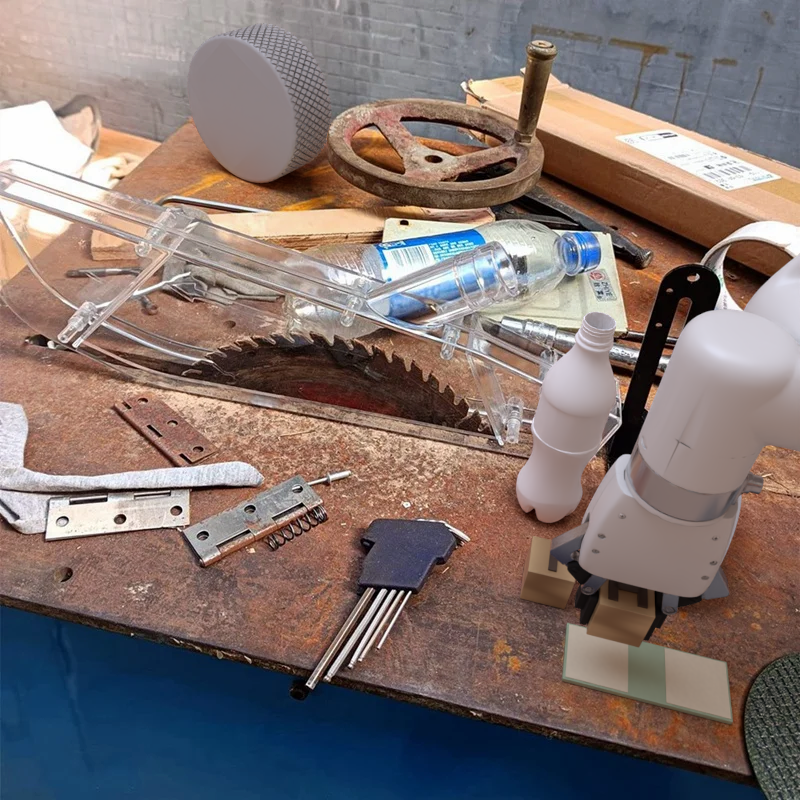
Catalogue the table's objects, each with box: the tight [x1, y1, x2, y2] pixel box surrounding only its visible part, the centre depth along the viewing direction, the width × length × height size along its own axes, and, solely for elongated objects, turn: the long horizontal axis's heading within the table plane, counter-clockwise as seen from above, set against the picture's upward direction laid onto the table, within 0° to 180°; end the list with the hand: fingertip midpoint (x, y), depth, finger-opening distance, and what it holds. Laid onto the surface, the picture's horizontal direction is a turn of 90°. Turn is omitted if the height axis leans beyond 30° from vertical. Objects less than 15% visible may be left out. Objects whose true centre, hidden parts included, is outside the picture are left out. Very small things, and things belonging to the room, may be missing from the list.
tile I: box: [519, 535, 576, 610], centre depth 75 cm, size 4×4×5 cm
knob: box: [186, 22, 333, 184], centre depth 135 cm, size 25×10×25 cm, turn 58°
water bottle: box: [515, 311, 617, 524], centre depth 77 cm, size 7×7×25 cm
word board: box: [561, 622, 734, 725], centre depth 70 cm, size 15×6×1 cm, turn 77°
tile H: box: [586, 579, 655, 647], centre depth 65 cm, size 4×4×5 cm
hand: (614, 617), depth 66 cm, fingers closed on tile H, 4 cm apart
